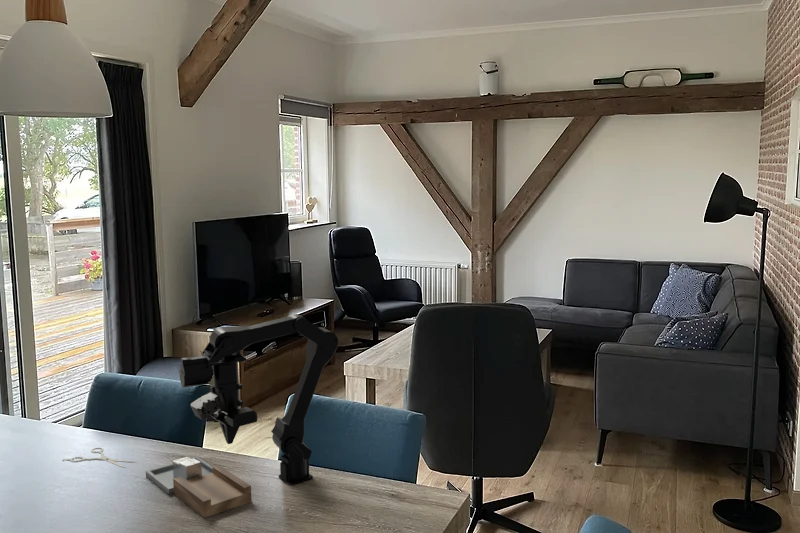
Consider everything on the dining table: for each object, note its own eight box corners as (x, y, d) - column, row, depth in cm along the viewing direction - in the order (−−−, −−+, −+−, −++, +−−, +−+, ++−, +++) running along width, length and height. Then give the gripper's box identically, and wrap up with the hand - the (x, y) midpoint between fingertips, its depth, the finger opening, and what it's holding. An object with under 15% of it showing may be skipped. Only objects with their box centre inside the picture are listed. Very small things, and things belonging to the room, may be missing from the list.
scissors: (93, 445, 199) (146, 456, 191) (93, 448, 199) (147, 459, 191) (61, 459, 189) (116, 471, 181) (61, 462, 189) (116, 474, 181)
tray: (197, 461, 188) (196, 456, 188) (222, 478, 178) (221, 472, 178) (145, 476, 179) (145, 471, 179) (169, 495, 169) (168, 489, 169)
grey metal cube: (195, 475, 178) (188, 471, 181) (194, 460, 177) (187, 456, 180) (180, 480, 175) (173, 476, 178) (179, 464, 175) (172, 460, 178)
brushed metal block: (195, 473, 178) (193, 458, 177) (202, 477, 175) (201, 462, 174) (180, 478, 175) (178, 462, 175) (187, 482, 172) (185, 466, 172)
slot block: (219, 480, 177) (218, 464, 176) (251, 501, 165) (251, 485, 165) (173, 494, 169) (173, 478, 168) (204, 518, 157) (203, 501, 157)
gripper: (177, 379, 168) (181, 441, 171) (211, 397, 154) (215, 464, 156) (220, 370, 176) (223, 429, 178) (257, 386, 161) (260, 451, 164)
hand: (229, 443), depth 169 cm, fingers closed
